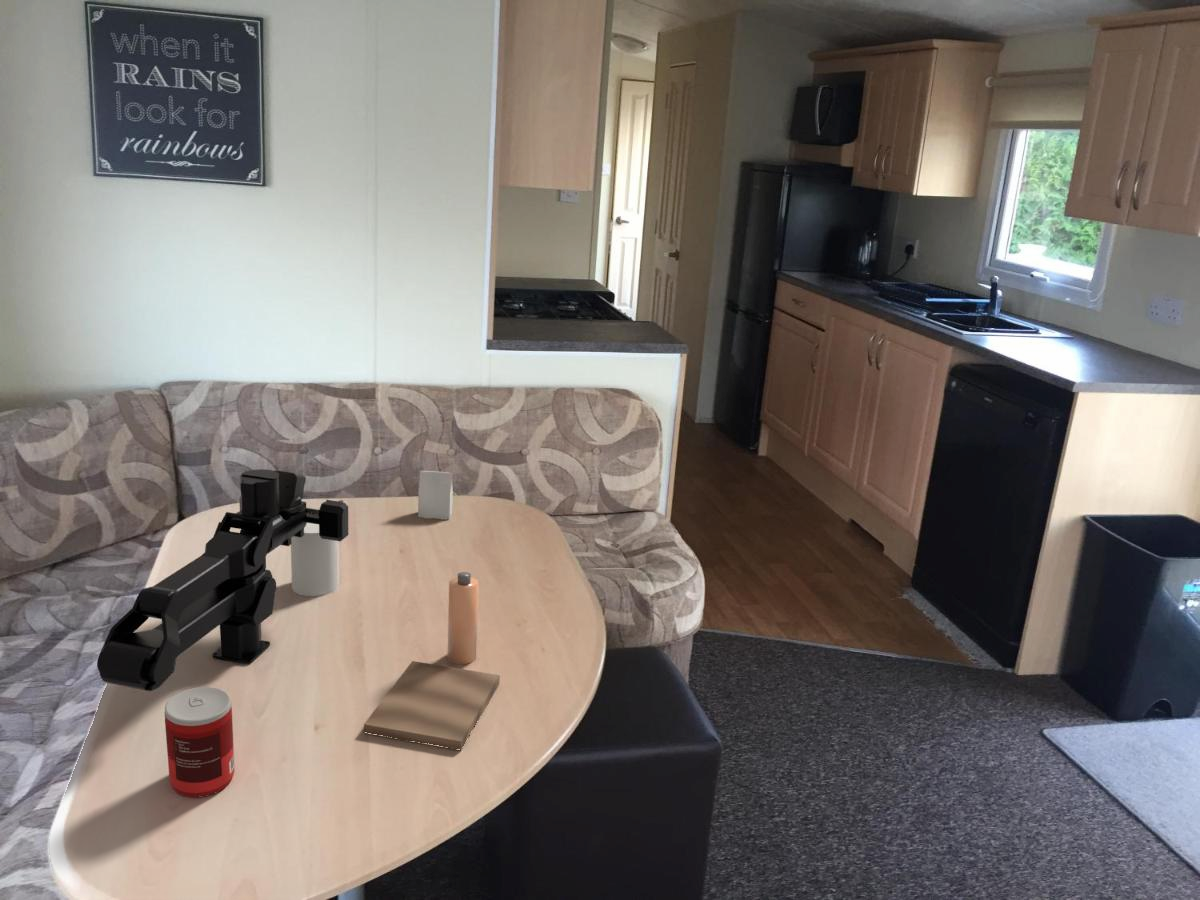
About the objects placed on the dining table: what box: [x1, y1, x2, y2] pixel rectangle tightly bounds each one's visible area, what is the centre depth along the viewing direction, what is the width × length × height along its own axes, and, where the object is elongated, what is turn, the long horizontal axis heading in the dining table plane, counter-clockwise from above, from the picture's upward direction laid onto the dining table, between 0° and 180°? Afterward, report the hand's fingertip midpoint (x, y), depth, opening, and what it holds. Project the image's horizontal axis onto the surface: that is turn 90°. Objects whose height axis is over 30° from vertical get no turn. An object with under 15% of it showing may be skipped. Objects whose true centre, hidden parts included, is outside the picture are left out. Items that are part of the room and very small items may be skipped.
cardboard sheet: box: [363, 660, 501, 751], centre depth 144 cm, size 18×14×2 cm
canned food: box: [164, 686, 235, 798], centre depth 124 cm, size 8×8×11 cm
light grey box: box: [417, 470, 454, 520], centre depth 214 cm, size 4×7×10 cm, turn 90°
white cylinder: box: [290, 523, 340, 597], centre depth 177 cm, size 8×8×12 cm
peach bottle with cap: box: [446, 571, 480, 665], centre depth 156 cm, size 5×5×14 cm
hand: (318, 499), depth 174 cm, fingers open, 9 cm apart
